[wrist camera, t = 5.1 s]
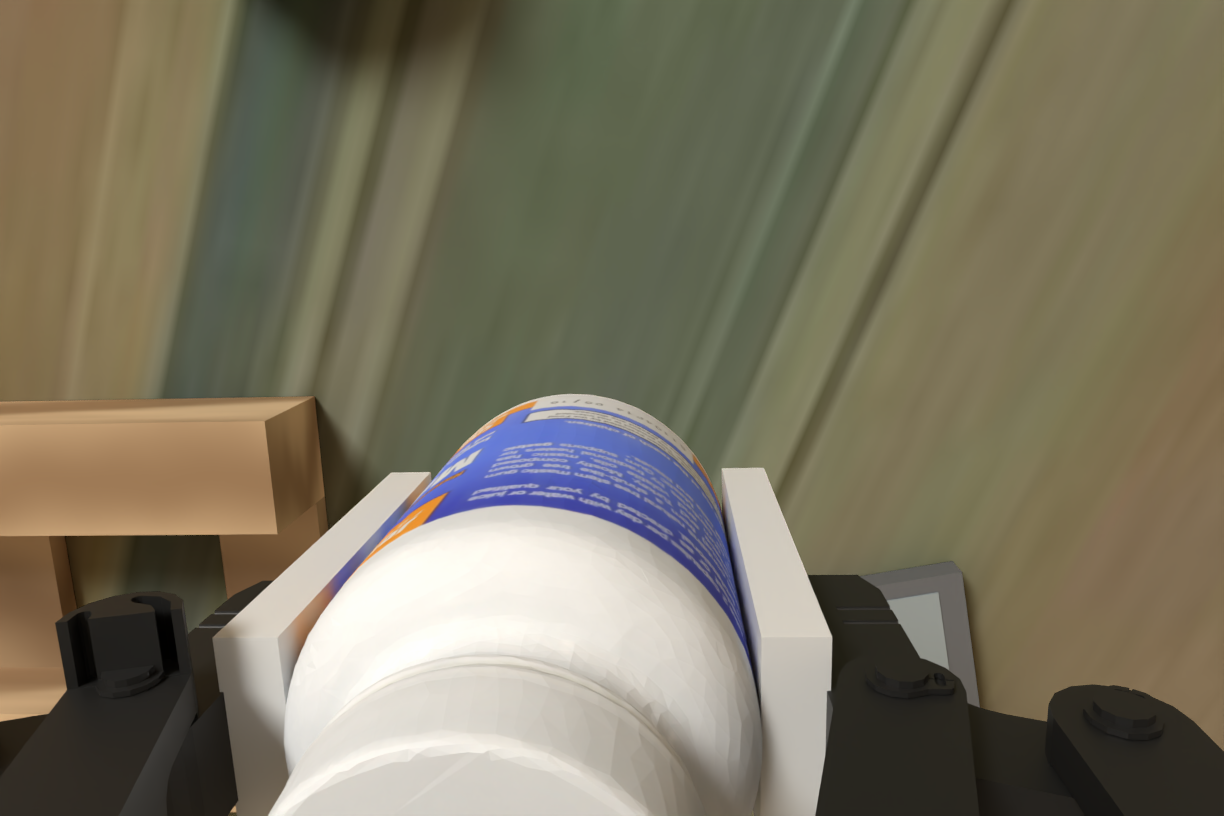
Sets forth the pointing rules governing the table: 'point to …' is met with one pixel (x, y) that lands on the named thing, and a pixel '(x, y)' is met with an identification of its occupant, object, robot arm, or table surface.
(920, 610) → the phone slab
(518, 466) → the pill bottle
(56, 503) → the socket holder
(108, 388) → the table surface
